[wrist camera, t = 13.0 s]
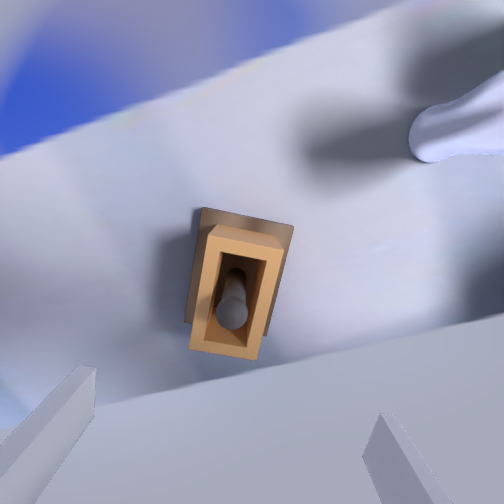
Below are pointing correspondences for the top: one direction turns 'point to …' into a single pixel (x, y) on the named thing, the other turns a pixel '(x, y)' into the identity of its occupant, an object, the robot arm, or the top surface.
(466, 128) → the beer glass
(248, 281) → the keeper board
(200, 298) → the orange link
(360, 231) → the top surface
